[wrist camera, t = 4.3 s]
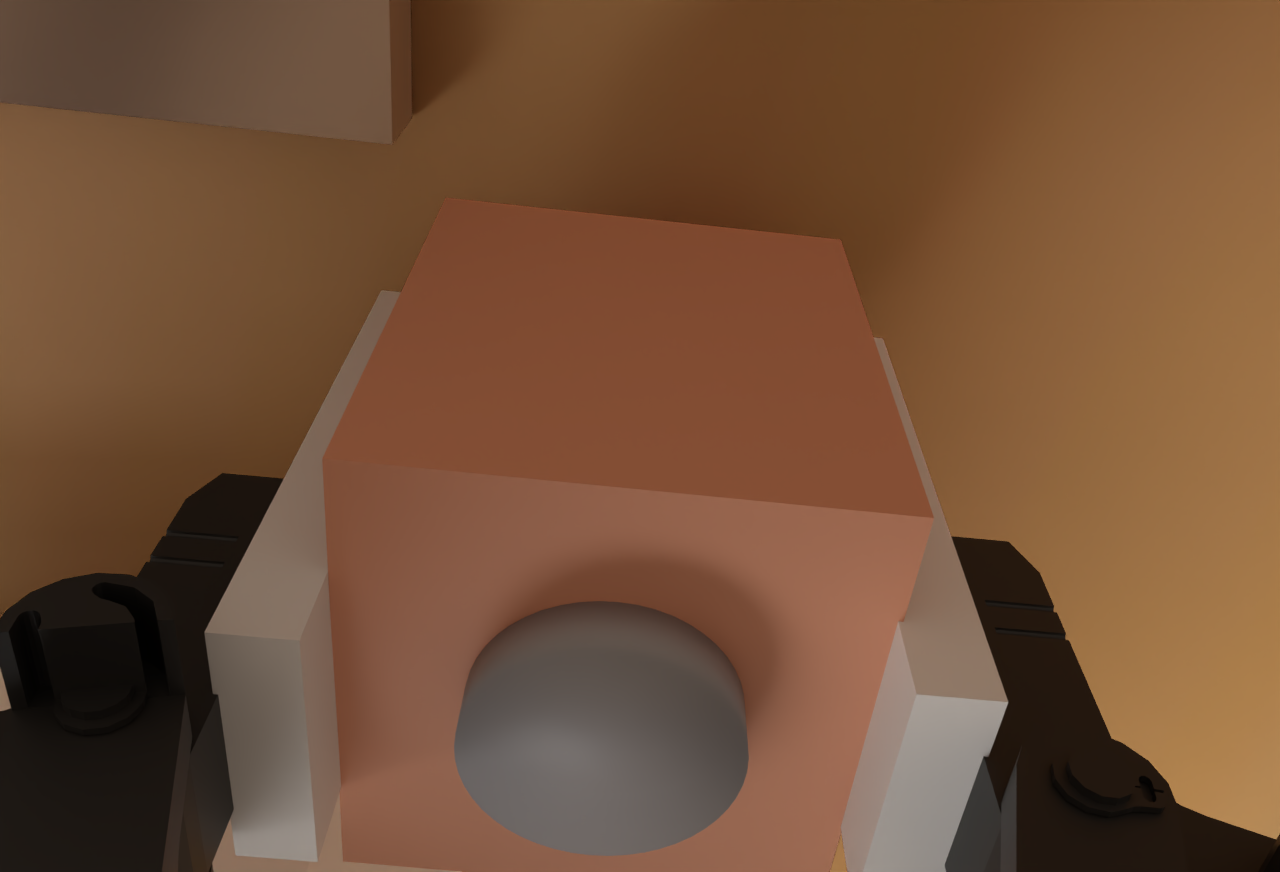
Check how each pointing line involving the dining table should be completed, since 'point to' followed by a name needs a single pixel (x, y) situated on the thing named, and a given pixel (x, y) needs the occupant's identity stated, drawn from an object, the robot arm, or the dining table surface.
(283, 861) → the container
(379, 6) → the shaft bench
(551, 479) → the joint block
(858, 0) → the dining table surface
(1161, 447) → the dining table surface
